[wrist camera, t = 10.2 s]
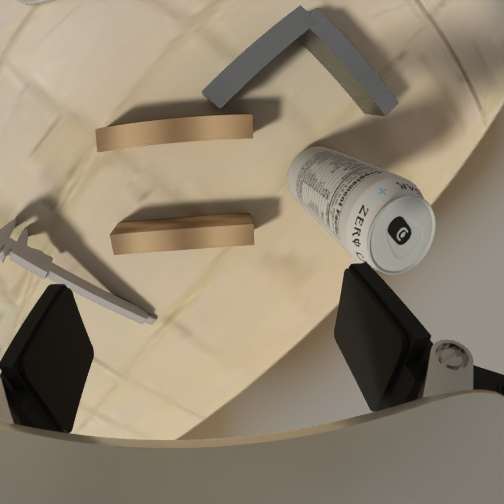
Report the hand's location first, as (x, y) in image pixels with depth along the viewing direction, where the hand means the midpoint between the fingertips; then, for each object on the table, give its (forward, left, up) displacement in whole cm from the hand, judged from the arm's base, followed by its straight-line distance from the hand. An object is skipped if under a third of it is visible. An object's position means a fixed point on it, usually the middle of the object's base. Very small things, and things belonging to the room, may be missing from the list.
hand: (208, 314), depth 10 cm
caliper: (+9, -15, -21) cm, 27 cm away
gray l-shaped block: (-11, +8, -20) cm, 24 cm away
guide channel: (0, -3, -20) cm, 20 cm away
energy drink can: (0, +10, -20) cm, 23 cm away
